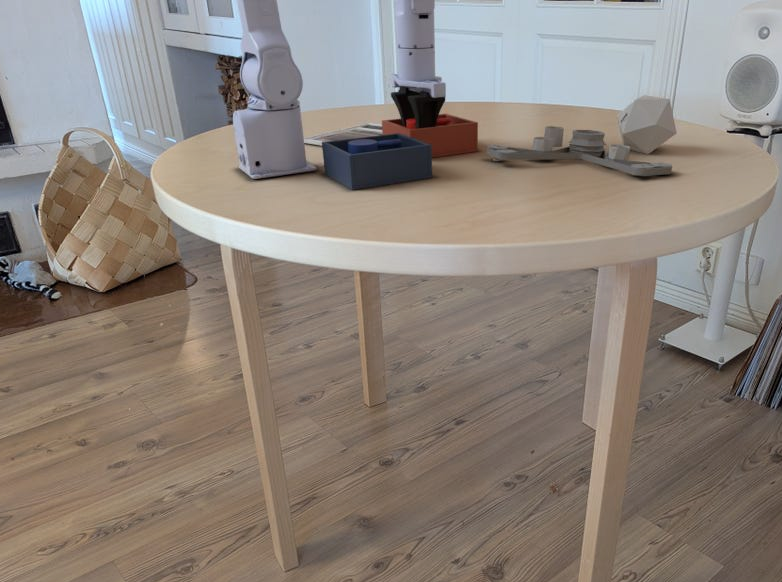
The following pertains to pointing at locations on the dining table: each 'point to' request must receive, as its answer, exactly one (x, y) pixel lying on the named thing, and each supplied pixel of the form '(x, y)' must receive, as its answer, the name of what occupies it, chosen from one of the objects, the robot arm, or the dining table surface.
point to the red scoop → (412, 122)
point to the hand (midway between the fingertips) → (419, 139)
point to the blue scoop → (370, 145)
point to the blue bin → (378, 162)
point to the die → (646, 123)
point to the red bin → (440, 135)
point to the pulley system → (580, 152)
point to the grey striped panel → (346, 133)
